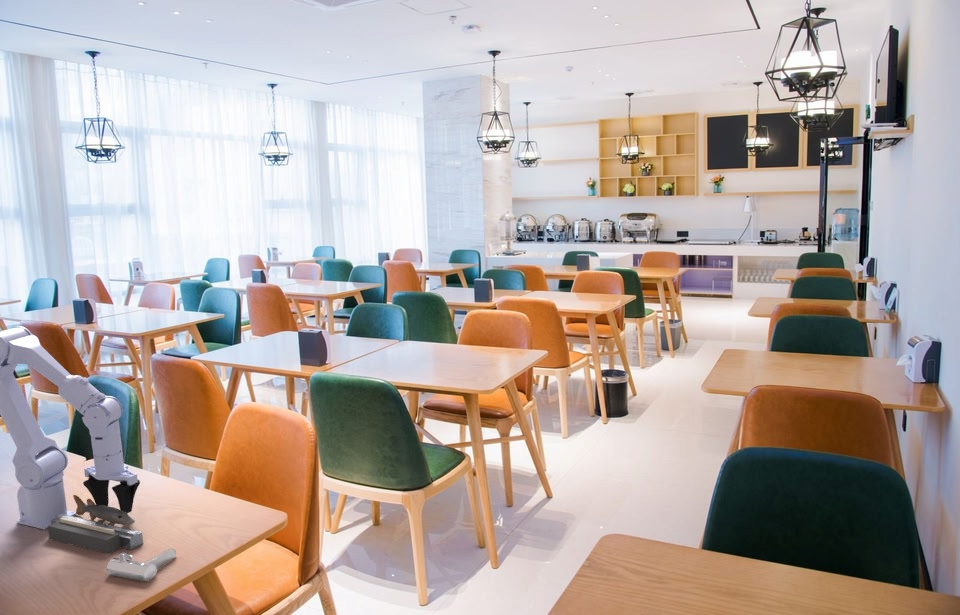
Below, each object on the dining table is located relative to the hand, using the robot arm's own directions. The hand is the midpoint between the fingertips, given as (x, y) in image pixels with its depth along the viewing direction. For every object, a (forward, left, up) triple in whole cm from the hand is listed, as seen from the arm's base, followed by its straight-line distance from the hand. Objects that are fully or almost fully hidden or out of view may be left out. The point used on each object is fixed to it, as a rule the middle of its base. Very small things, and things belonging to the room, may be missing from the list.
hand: (114, 510), depth 157 cm
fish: (0, -3, -2) cm, 3 cm away
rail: (+4, -8, -2) cm, 9 cm away
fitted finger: (+4, -11, -2) cm, 12 cm away
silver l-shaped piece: (+24, -13, -3) cm, 28 cm away
